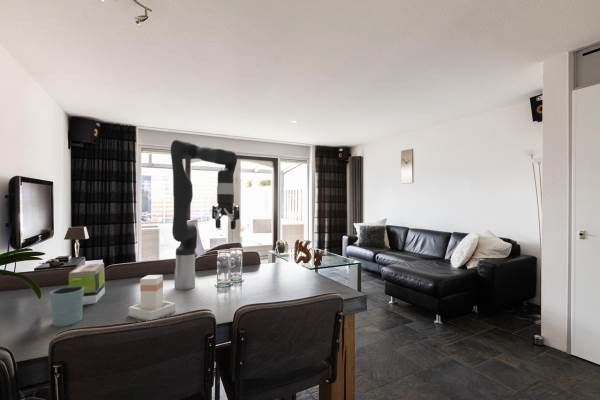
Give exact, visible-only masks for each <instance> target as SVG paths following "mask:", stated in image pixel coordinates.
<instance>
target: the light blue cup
mask: <svg viewBox="0 0 600 400" xmlns="http://www.w3.org/2000/svg"><path fill="white" fill-rule="evenodd" d="M83 295H84V287H83V286H70V287H69V286H63V287H59V288H56V289H53V290H51V291H49V296H50V297H49V298H50V304H51V314H52V324H53V325H52V326H54V327H66V326H67V327H68V326H71V324H72V325H75V324H77V323H79V322H80V321H82V319H83V307H84V305H83Z"/></svg>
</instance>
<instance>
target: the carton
mask: <svg viewBox="0 0 600 400" xmlns="http://www.w3.org/2000/svg"><path fill="white" fill-rule="evenodd" d="M163 275H164V274H148V275H145V276H144V277H142V278H140V284H139V287H140V289H139V291H140V303H141V309H144V310H148V311H154V310H157V309H159V308H162V307H163V301H164V276H163Z"/></svg>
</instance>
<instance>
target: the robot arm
mask: <svg viewBox="0 0 600 400" xmlns="http://www.w3.org/2000/svg"><path fill="white" fill-rule="evenodd" d="M170 159H171V166H172V190H173V191H172V195H173V218H172V219H173V220H172V236H173V239H174V240H175V241H176V242H180V243H179V246H178V247H176V249H175V268H174V288H175V289H176V290H181V291H182V290H183V291H184V290H190V289H193V288H195V287H196V249H197V244H198V243H197V242H198V231H197V230H198V229H197V226H196V225H195V224H194V223H193V222H188V211H189V208H190V206H191V204H192V200H193V198H194V197H193V194H194V192H193V182H192V181H191V179H190V177H189V175H188V174H187V172H186V170H185V168H184V162H183V160H194V159H195V160H196V159H197V160H198V159H199V160H201V161H203V162H206V163H207V162H208V163H212V164H213V163H214V164H216V165H221V166H224V168H223V169H221V170H219V171H218V172H217V187H216V204H217V205H213V206H212V208H211V218H212V219H213V220H215V228H216V229H221V227H222V226H221V222H222V221H221V219H222V217H224V216H227V217H228V218H229V219H230V230H236V228H237V221H239V220H240V219H241V217H240V206H238V205H236V206H234V203H235V187H234V174H235V171H236V166H237V162H238V157H237V154H236V152H235V151H234V150H231V149H230V150H229V149H224V148H215V147H210V146H200V145H197V144H195V143H192V142H190V141H186V140H179V139H175V140H173V141H172V142H171V145H170Z"/></svg>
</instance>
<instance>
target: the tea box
mask: <svg viewBox="0 0 600 400" xmlns="http://www.w3.org/2000/svg"><path fill="white" fill-rule="evenodd" d="M105 281H106V280H105V264H104V262H103V263H95V264H93V263H91V264H80V265H79V266H77V267H75V268H74V269H73V270H71V271H70V272H68V287H70V286H83V287H84V295H83V306H84V305H85V306H86V305H91V304H92V305H93V304H97V302H98V301H100V299H101V298H102V296H103V295H105V293H106V287H105Z"/></svg>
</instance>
